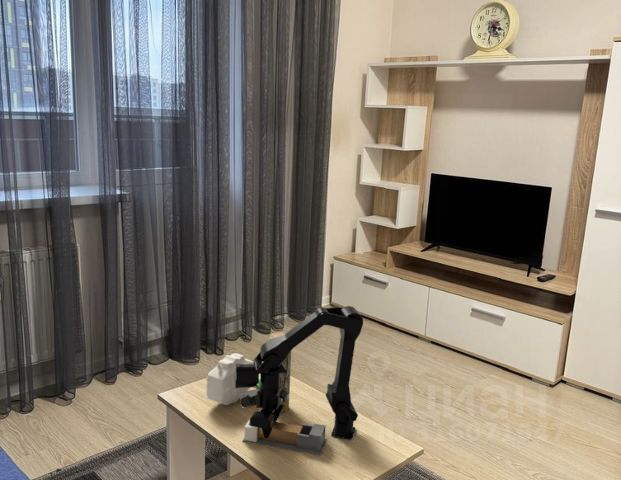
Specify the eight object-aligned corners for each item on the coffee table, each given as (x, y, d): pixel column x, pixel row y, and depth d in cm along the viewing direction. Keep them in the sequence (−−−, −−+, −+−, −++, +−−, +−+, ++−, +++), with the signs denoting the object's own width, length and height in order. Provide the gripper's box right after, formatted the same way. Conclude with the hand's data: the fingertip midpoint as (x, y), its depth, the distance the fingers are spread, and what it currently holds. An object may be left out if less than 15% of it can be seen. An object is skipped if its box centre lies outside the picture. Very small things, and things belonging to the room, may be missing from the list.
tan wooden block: (254, 429, 177) (254, 417, 176) (302, 437, 174) (302, 426, 173) (249, 436, 173) (249, 424, 173) (298, 445, 170) (299, 433, 169)
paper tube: (286, 414, 188) (288, 341, 182) (265, 411, 189) (267, 339, 183) (291, 404, 194) (293, 333, 188) (271, 401, 195) (273, 331, 190)
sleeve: (301, 436, 175) (302, 421, 174) (324, 440, 174) (325, 425, 173) (296, 448, 169) (297, 432, 168) (320, 452, 168) (321, 436, 167)
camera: (201, 406, 190) (201, 361, 186) (236, 385, 205) (237, 343, 202) (227, 417, 185) (228, 370, 181) (261, 394, 200) (262, 351, 196)
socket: (252, 427, 179) (252, 414, 178) (264, 429, 178) (264, 416, 177) (244, 439, 172) (244, 426, 171) (256, 442, 171) (256, 428, 170)
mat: (251, 426, 180) (251, 425, 180) (326, 439, 175) (326, 438, 175) (242, 441, 172) (242, 440, 172) (320, 455, 167) (320, 454, 167)
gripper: (254, 368, 181) (252, 414, 185) (232, 396, 163) (231, 446, 167) (288, 373, 179) (287, 419, 182) (270, 402, 161) (269, 453, 165)
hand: (268, 433), depth 174 cm, fingers closed on tan wooden block, 4 cm apart
